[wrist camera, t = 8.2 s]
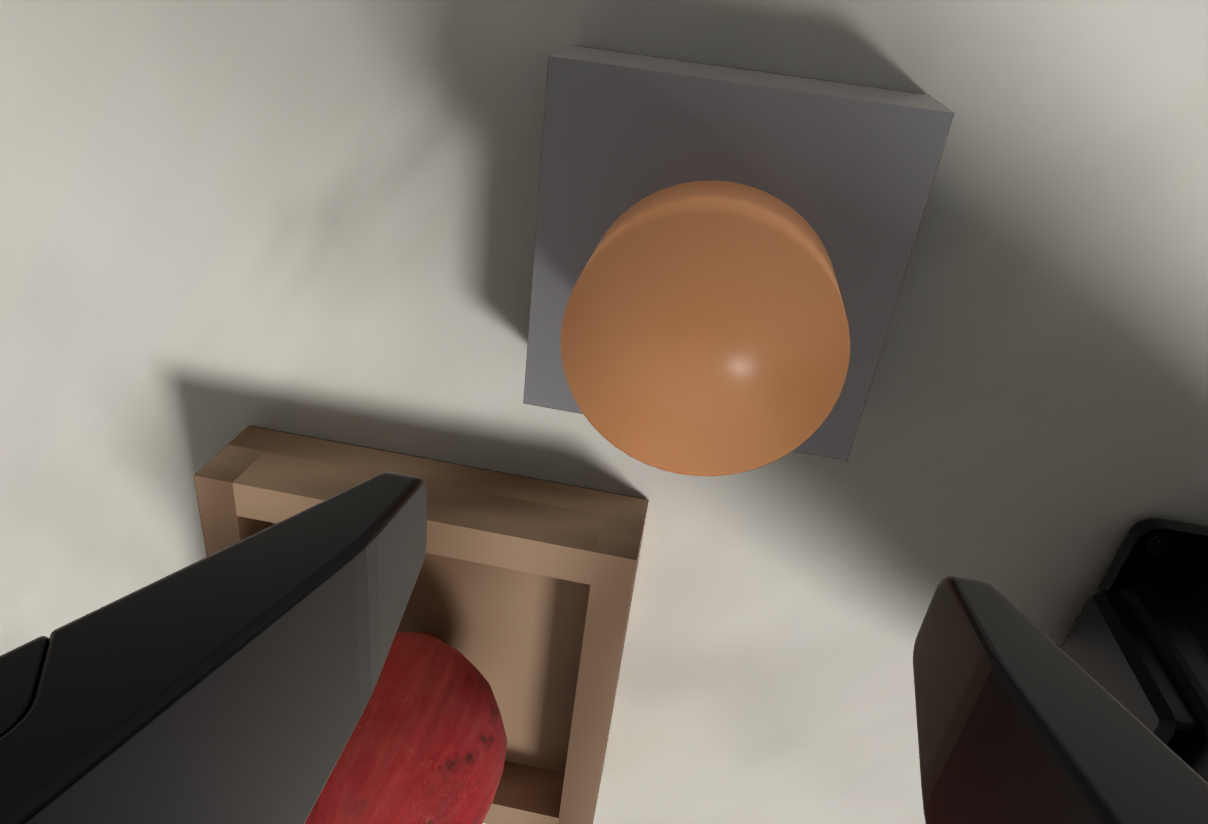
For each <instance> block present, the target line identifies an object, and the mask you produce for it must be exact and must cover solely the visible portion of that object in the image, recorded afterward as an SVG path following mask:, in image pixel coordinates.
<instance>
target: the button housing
mask: <svg viewBox="0 0 1208 824" xmlns="http://www.w3.org/2000/svg"><path fill="white" fill-rule="evenodd" d="M953 116H954V112H952V111H951V110H949V109H948V108H946V107H945V106H944V105H942V104H941V103H939V102H938V101H936V100H935V99H933V98H932V97H930V96H929V95H924V94H917V93H910V92H902V91H895V90H888V89H881V88H874V87H866V86H859V85H852V84H845V83H838V82H831V81H823V80H816V79H809V78H802V77H795V76H787V75H780V74H773V73H766V72H759V71H751V70H744V69H737V68H730V67H723V66H716V65H708V64H701V63H694V62H687V61H680V60H672V59H665V58H658V57H651V56H644V55H636V54H629V53H622V52H615V51H608V50H600V49H593V48H586V47H579V46H572V47H569V48H567V49H564V50H562V51H559V52H557V53H554V54H552V55H550V56H549V58H548V71H547V85H546V99H545V113H544V126H543V140H542V154H541V167H540V181H539V195H538V209H537V222H536V236H535V250H534V264H533V277H532V291H531V305H530V318H529V332H528V346H527V360H526V373H525V387H524V401H523V403H524V404H530V405H535V406H541V407H546V408H552V409H558V410H563V411H569V412H575V413H580V414H583V413H582V411H581V410H580V408H579V406H578V404H577V402H576V401H575V399H574V397H573V395H572V393H571V390H570V388H569V385H568V383H567V380H566V376H565V372H564V368H563V364H562V355H561V329H562V322H563V316H564V312H565V309H566V306H567V303H568V300H569V297H570V295H571V293H572V291H573V289H574V286H575V284H576V282H577V280H578V279H579V277H580V275H581V273H582V272H583V270H584V268H585V266H586V265H587V263H588V261H589V259H590V257H591V256H592V254H593V252H594V250H595V249H596V247H597V245H598V243H599V242H600V240H601V239H602V237H603V236H604V234H605V233H606V231H607V230H608V229H609V228H610V226H611V225H612V224H613V223H614V222H615V221H616V220H617V218H618V217H620V216H621V215H622V214H623V213H624V212H625V211H626V210H628V209H629V208H630V207H631V206H633V205H634V204H636V203H637V202H639V201H640V200H642V199H643V198H645V197H647V196H649V195H651V194H653V193H655V192H657V191H659V190H662V189H665V188H668V187H671V186H674V185H677V184H682V183H688V182H693V181H708V180H716V181H728V182H734V183H739V184H743V185H748V186H751V187H754V188H756V189H759V190H762V191H765V192H767V193H769V194H770V195H772V196H774V197H776V198H778V199H780V200H782V201H783V202H784V203H786V204H787V205H788V206H790V207H791V208H793V209H794V210H795V211H796V212H797V213H798V214H800V215H801V216H802V217H803V218H804V219H805V220H806V221H807V222H808V223H809V225H810V226H811V227H812V229H813V230H814V231H815V232H816V234H817V235H818V236H819V238H820V240H821V242H822V243H823V245H824V247H825V248H826V250H827V253H828V255H829V258H830V260H831V263H832V265H833V269H834V272H835V276H836V280H837V283H838V287H839V290H840V294H841V298H842V301H843V305H844V308H845V312H846V317H847V321H848V325H849V334H850V358H849V366H848V370H847V375H846V380H845V382H844V385H843V388H842V390H841V393H840V396H839V398H838V399H837V401H836V403H835V405H834V407H833V409H832V411H831V412H830V413H829V415H828V416H827V418H826V419H825V420H824V422H823V423H822V424H821V426H820V427H819V428H818V429H817V430H816V431H815V432H814V433H813V434H812V435H811V436H810V437H809V438H808V439H807V440H806V441H804V442H803V443H802V444H801V445H799V446H798V447H797V448H796V449H794V450H793V451H794V452H800V453H805V454H811V455H817V456H822V457H828V458H834V459H839V460H845V461H847V460H848V457H849V454H850V450H851V447H852V444H853V441H854V437H855V434H856V431H857V428H858V424H859V421H860V418H861V415H862V411H863V408H864V405H865V402H866V398H867V395H868V392H869V389H870V385H871V382H872V379H873V376H874V372H875V369H876V366H877V363H878V359H879V356H880V353H881V350H882V346H883V343H884V340H885V337H886V333H887V330H888V327H889V324H890V320H891V317H892V314H893V311H894V307H895V304H896V301H897V298H898V294H899V291H900V288H901V285H902V281H903V278H904V275H905V272H906V268H907V265H908V262H909V259H910V255H911V252H912V249H913V246H914V242H915V239H916V236H917V233H918V229H919V226H920V223H921V220H922V216H923V213H924V210H925V207H926V203H927V200H928V197H929V194H930V190H931V187H932V184H933V181H934V177H935V174H936V171H937V168H938V164H939V161H940V158H941V155H942V151H943V148H944V145H945V142H946V138H947V135H948V132H949V129H950V125H951V122H952V119H953Z"/></svg>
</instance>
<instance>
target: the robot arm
mask: <svg viewBox="0 0 1208 824" xmlns="http://www.w3.org/2000/svg"><path fill="white" fill-rule="evenodd" d="M1156 537H1162V538H1161V539H1160V540H1159V541H1158V542H1156V543H1153V544H1146V543H1147V542H1148V541H1149V540H1151V539H1153V538H1156ZM426 546H427V488H426V484H425V482H424V481H423V480H422V479H421V478H419V477H415V476H409V475H404V474H399V473H393V472H384V473H381V474H379V475H377V476H375V477H373V478H370V479H368V480H366V481H364V482H362V483H360V484H358V485H356V486H354V487H352V488H350V489H348V490H345V491H343V492H341V493H339V494H337V495H335V496H333V497H331V498H329V499H327V500H325V501H323V502H320V503H318V504H316V505H314V506H312V507H310V508H308V509H306V510H304V511H302V512H300V513H298V514H295V515H293V516H291V517H289V518H287V519H285V520H283V521H281V522H279V523H277V524H275V525H273V526H270V527H268V528H266V529H264V530H262V531H260V532H258V533H256V534H254V535H252V536H250V537H248V538H245V539H243V540H241V541H239V542H237V543H235V544H233V545H231V546H229V547H227V548H225V549H223V550H220V551H218V552H216V553H214V554H212V555H210V556H208V557H206V558H204V559H202V560H200V561H198V562H196V563H193V564H191V565H189V566H187V567H185V568H183V569H181V570H179V571H177V572H175V573H173V574H171V575H168V576H166V577H164V578H162V579H160V580H158V581H156V582H154V583H152V584H150V585H148V586H146V587H143V588H141V589H139V590H137V591H135V592H133V593H131V594H129V595H127V596H125V597H123V598H121V599H118V600H116V601H114V602H112V603H110V604H108V605H106V606H104V607H102V608H100V609H98V610H95V611H93V612H91V613H89V614H87V615H85V616H83V617H81V618H79V619H77V620H75V621H72V622H70V623H68V624H66V625H64V626H62V627H60V628H58V629H56V630H54V631H53V632H52V633H51V635H50V639H49V638H48V637H46V636H41V637H39V638H37V639H34V640H32V641H30V642H28V643H26V644H24V645H22V646H20V647H18V648H16V649H14V650H12V651H9V652H7V653H5V654H3V655H1V656H0V824H305V822H306V820H307V818H308V816H309V814H310V812H311V810H312V809H313V807H314V805H315V803H316V801H317V799H318V797H319V795H320V793H321V791H322V790H323V788H324V786H325V784H326V782H327V780H328V778H329V776H330V774H331V772H332V771H333V769H334V767H335V765H336V763H337V761H338V759H339V757H340V755H341V753H342V752H343V750H344V748H345V746H346V744H347V742H348V740H349V738H350V736H351V735H352V733H353V731H354V729H355V727H356V725H357V723H358V721H359V719H360V717H361V716H362V713H363V711H364V709H365V707H366V705H367V703H368V701H369V699H370V697H371V695H372V693H373V691H374V688H375V686H376V683H377V681H378V678H379V676H380V674H381V671H382V668H383V666H384V663H385V661H386V658H387V656H388V653H389V650H390V648H391V645H392V643H393V640H394V637H395V635H396V632H397V630H398V627H399V624H400V622H401V619H402V617H403V614H404V612H405V609H406V606H407V604H408V601H409V599H410V596H411V593H412V591H413V588H414V586H415V583H416V580H417V578H418V575H419V573H420V570H421V567H422V565H423V561H424V558H425V553H426ZM913 670H914V685H915V699H916V714H917V729H918V744H919V759H920V773H921V787H922V798H923V809H924V815H925V822H926V824H1208V527H1205V526H1199V525H1194V524H1188V523H1183V522H1177V521H1171V520H1166V519H1160V518H1150V519H1146V520H1142V521H1140V522H1138V523H1137V524H1135V525H1134V526H1133V527H1132V528H1131V529H1130V530H1129V532H1128V533H1127V535H1126V537H1125V539H1124V541H1123V543H1122V545H1121V546H1120V548H1119V550H1118V552H1117V554H1116V556H1115V558H1114V559H1113V561H1112V563H1111V565H1110V567H1109V569H1108V571H1107V573H1106V574H1105V576H1104V578H1103V580H1102V582H1101V584H1100V586H1099V587H1098V589H1097V591H1096V592H1095V593H1093V594H1092V595H1091V596H1090V597H1089V598H1088V600H1087V602H1086V604H1085V606H1084V608H1083V609H1082V611H1081V613H1080V615H1079V617H1078V619H1077V621H1076V623H1075V624H1074V626H1073V628H1072V630H1071V632H1070V634H1069V636H1068V638H1067V640H1066V641H1065V643H1064V645H1063V647H1062V649H1060V648H1059V647H1058V646H1057V645H1056V644H1055V643H1054V642H1053V641H1052V640H1051V639H1049V638H1048V637H1047V636H1046V635H1045V634H1044V633H1043V632H1042V631H1041V630H1040V629H1038V628H1037V627H1036V626H1035V625H1034V624H1033V623H1032V622H1031V621H1030V620H1029V619H1028V618H1026V617H1025V616H1024V615H1023V614H1022V613H1021V612H1020V611H1019V610H1018V609H1017V608H1015V607H1014V606H1013V605H1012V604H1011V603H1010V602H1009V601H1008V600H1007V599H1006V598H1005V597H1003V596H1002V595H1001V594H1000V593H999V592H998V591H997V590H996V589H995V588H993V587H992V586H991V585H989V584H987V583H984V582H979V581H973V580H968V579H962V578H957V577H947V578H945V579H942V581H941V582H940V583H939V585H938V586H937V588H936V590H935V593H934V595H933V598H932V600H931V603H930V605H929V607H928V610H927V612H926V615H925V617H924V620H923V622H922V625H921V627H920V630H919V632H918V634H917V637H916V641H915V645H914V651H913Z"/></svg>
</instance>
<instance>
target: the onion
mask: <svg viewBox="0 0 1208 824" xmlns="http://www.w3.org/2000/svg"><path fill="white" fill-rule="evenodd" d="M506 747H507V736H506V732H505V729H504V725H503V721H502V717H501V713H500V710H499V707H498V705H497V702H496V699H495V697H494V694H493V691H492V689H491V686H490V684H489V683H488V681H487V680H486V679H485V678H484V676H483V675H482V674H481V673H480V672H479V670H478V669H477V668H476V667H475V666H474V665H473V664H472V663H471V662H470V661H469V660H468V659H467V658H466V657H465V656H464V655H463V654H462V653H461V652H460V651H458V650H457V649H455V648H453V647H452V646H450V645H448V644H446V643H445V642H444V641H443V640H442V639H441V638H439V637H438V636H437V635H435V634H432V633H425V632H418V633H415V632H396V635H395V637H394V640H393V643H392V645H391V648H390V650H389V653H388V656H387V658H386V661H385V663H384V666H383V668H382V671H381V674H380V676H379V678H378V681H377V683H376V686H375V688H374V691H373V693H372V695H371V697H370V699H369V701H368V703H367V705H366V707H365V709H364V711H363V713H362V716H361V717H360V719H359V721H358V723H357V725H356V727H355V729H354V731H353V733H352V735H351V736H350V738H349V740H348V742H347V744H346V746H345V748H344V750H343V752H342V753H341V755H340V757H339V759H338V761H337V763H336V765H335V767H334V769H333V771H332V772H331V774H330V776H329V778H328V780H327V782H326V784H325V786H324V788H323V790H322V791H321V793H320V795H319V797H318V799H317V801H316V803H315V805H314V807H313V809H312V810H311V812H310V814H309V816H308V818H307V820H306V822H305V824H482V823H483V821H484V819H485V817H486V815H487V813H488V811H489V808H490V806H491V804H492V802H493V799H494V796H495V794H496V791H497V788H498V785H499V782H500V779H501V776H502V773H503V769H504V762H505V754H506Z"/></svg>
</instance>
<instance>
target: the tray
mask: <svg viewBox="0 0 1208 824" xmlns="http://www.w3.org/2000/svg"><path fill="white" fill-rule="evenodd" d="M384 472H393V473H399V474H404V475H409V476H415V477H419V478H421V479H422V480H423V481H424V482H425V484H426V488H427V546H426V553H425V558H424V561H423V565H422V567H421V570H420V573H419V575H418V578H417V580H416V583H415V586H414V588H413V591H412V593H411V596H410V599H409V601H408V604H407V606H406V609H405V612H404V614H403V617H402V619H401V622H400V624H399V627H398V630H397V632H415V633H418V632H425V633H432V634H435V635H437V636H438V637H439V638H441V639H442V640H443V641H444V642H445V643H446V644H448V645H450V646H452V647H453V648H455V649H457V650H458V651H460V652H461V653H462V654H463V655H464V656H465V657H466V658H467V659H468V660H469V661H470V662H471V663H472V664H473V665H474V666H475V667H476V668H477V669H478V670H479V672H480V673H481V674H482V675H483V676H484V678H485V679H486V680H487V681H488V683H489V684H490V686H491V689H492V691H493V694H494V697H495V699H496V702H497V705H498V707H499V710H500V713H501V717H502V721H503V725H504V729H505V732H506V736H507V747H506V754H505V762H504V769H503V773H502V776H501V779H500V782H499V785H498V788H497V791H496V794H495V796H494V799H493V802H492V804H491V806H490V808H489V811H488V813H487V815H486V817H485V819H484V821H483V823H487V824H593V819H594V814H595V809H596V803H597V798H598V793H599V787H600V782H601V776H602V771H603V765H604V759H605V753H606V747H607V741H608V735H609V730H610V724H611V718H612V712H613V706H614V700H615V694H616V688H617V683H618V677H619V671H620V665H621V659H622V653H623V647H624V642H625V636H626V630H627V624H628V618H629V612H630V606H631V600H632V595H633V589H634V583H635V577H636V571H637V565H638V559H639V553H640V548H641V542H642V536H643V530H644V524H645V518H646V512H647V506H648V501H649V500H646V499H641V498H635V497H630V496H624V495H619V494H614V493H608V492H603V491H597V490H592V489H587V488H581V487H576V486H570V485H565V484H560V483H554V482H549V481H543V480H538V479H533V478H527V477H522V476H516V475H511V474H506V473H500V472H495V471H489V470H484V469H479V468H473V467H468V466H462V465H457V464H452V463H446V462H441V461H435V460H430V459H425V458H419V457H414V456H408V455H403V454H398V453H392V452H387V451H381V450H376V449H371V448H365V447H360V446H354V445H349V444H344V443H338V442H333V441H328V440H322V439H317V438H311V437H306V436H301V435H295V434H290V433H284V432H279V431H274V430H268V429H263V428H257V427H252V426H248V427H247V428H246V429H245V430H244V431H242V432H241V433H240V434H239V435H238V436H237V437H236V438H235V439H234V440H233V441H231V442H230V443H229V444H228V445H227V446H226V447H225V448H224V449H223V450H221V451H220V452H219V453H218V454H217V455H216V456H215V457H214V458H213V459H211V460H210V461H209V462H208V463H207V464H206V465H205V466H204V467H203V468H201V469H200V470H199V471H198V472H197V473H196V474H195V475H194V479H195V486H196V492H197V498H198V504H199V510H200V517H201V523H202V529H203V535H204V541H205V548H206V554H207V557H208V556H210V555H212V554H214V553H216V552H218V551H220V550H223V549H225V548H227V547H229V546H231V545H233V544H235V543H237V542H239V541H241V540H243V539H245V538H248V537H250V536H252V535H254V534H256V533H258V532H260V531H262V530H264V529H266V528H268V527H270V526H273V525H275V524H277V523H279V522H281V521H283V520H285V519H287V518H289V517H291V516H293V515H295V514H298V513H300V512H302V511H304V510H306V509H308V508H310V507H312V506H314V505H316V504H318V503H320V502H323V501H325V500H327V499H329V498H331V497H333V496H335V495H337V494H339V493H341V492H343V491H345V490H348V489H350V488H352V487H354V486H356V485H358V484H360V483H362V482H364V481H366V480H368V479H370V478H373V477H375V476H377V475H379V474H381V473H384Z"/></svg>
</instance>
